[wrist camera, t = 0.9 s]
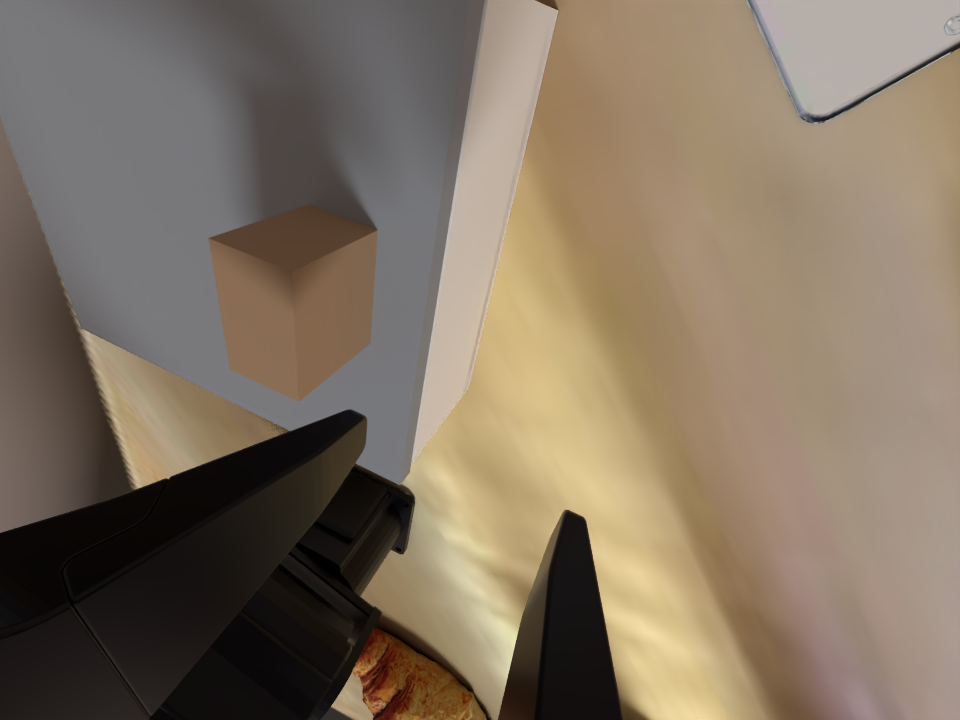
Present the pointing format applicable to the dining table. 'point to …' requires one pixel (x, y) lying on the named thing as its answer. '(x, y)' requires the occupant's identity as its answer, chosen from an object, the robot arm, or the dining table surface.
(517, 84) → the lidded box
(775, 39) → the smartphone
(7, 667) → the robot arm
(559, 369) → the dining table surface
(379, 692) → the croissant
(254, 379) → the lid
